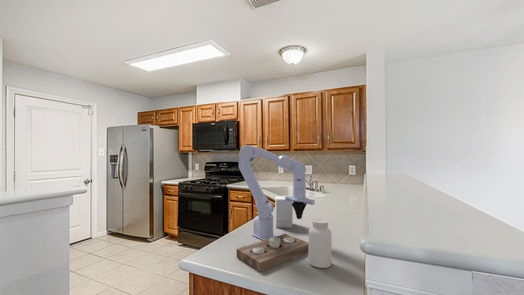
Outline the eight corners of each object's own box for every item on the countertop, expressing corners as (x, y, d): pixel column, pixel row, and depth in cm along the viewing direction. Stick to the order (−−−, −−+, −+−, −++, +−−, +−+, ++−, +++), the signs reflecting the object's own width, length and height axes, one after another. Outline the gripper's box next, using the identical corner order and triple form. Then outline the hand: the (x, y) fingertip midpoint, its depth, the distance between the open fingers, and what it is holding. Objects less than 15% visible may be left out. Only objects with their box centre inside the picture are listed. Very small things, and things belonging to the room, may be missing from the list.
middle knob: (266, 247, 89) (266, 239, 89) (274, 244, 92) (274, 236, 92) (274, 251, 86) (274, 242, 86) (282, 248, 88) (282, 239, 88)
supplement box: (292, 228, 119) (293, 199, 120) (275, 227, 120) (276, 199, 120) (290, 222, 129) (291, 196, 129) (275, 222, 129) (275, 196, 129)
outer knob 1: (250, 258, 84) (250, 249, 84) (259, 255, 87) (259, 246, 87) (257, 262, 80) (257, 253, 80) (266, 259, 83) (266, 250, 83)
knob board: (236, 256, 86) (236, 248, 86) (285, 240, 102) (285, 233, 102) (259, 271, 75) (259, 262, 75) (310, 250, 91) (310, 243, 91)
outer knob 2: (281, 247, 94) (281, 239, 94) (288, 244, 97) (288, 237, 97) (288, 250, 91) (289, 242, 91) (296, 248, 93) (296, 240, 93)
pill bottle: (323, 271, 75) (323, 225, 76) (303, 262, 81) (304, 220, 82) (335, 263, 81) (335, 221, 81) (316, 256, 86) (316, 216, 87)
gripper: (281, 187, 106) (281, 217, 106) (309, 191, 97) (309, 223, 96) (289, 186, 111) (289, 214, 111) (316, 189, 102) (316, 220, 102)
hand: (299, 218), depth 104 cm, fingers closed
